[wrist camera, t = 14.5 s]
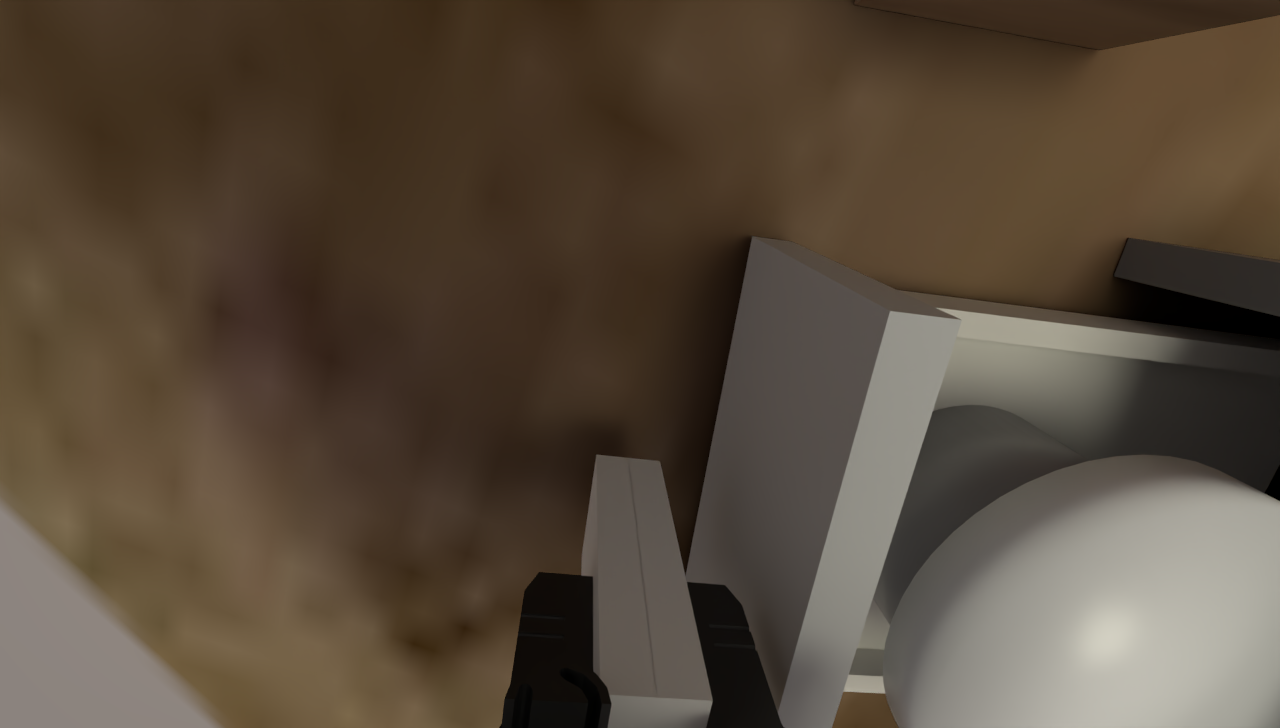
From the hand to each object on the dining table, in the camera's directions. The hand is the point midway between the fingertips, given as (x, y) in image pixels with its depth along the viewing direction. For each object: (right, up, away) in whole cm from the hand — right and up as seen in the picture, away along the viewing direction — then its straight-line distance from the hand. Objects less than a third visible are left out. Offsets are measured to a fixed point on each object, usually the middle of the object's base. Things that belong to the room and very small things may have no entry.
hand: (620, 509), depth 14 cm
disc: (+9, -2, -2) cm, 10 cm away
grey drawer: (+10, 0, +3) cm, 11 cm away
